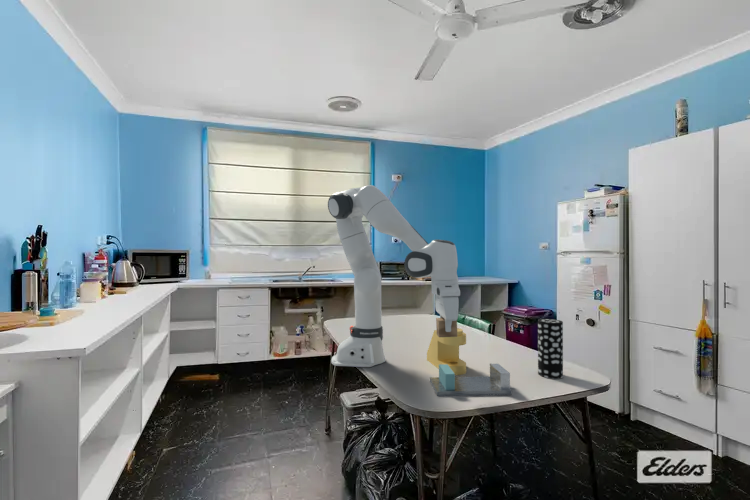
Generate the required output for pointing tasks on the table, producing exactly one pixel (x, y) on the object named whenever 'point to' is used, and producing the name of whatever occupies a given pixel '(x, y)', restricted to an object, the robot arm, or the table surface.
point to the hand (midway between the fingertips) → (446, 329)
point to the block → (441, 328)
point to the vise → (477, 384)
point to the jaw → (447, 377)
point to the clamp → (447, 351)
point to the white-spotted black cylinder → (550, 348)
